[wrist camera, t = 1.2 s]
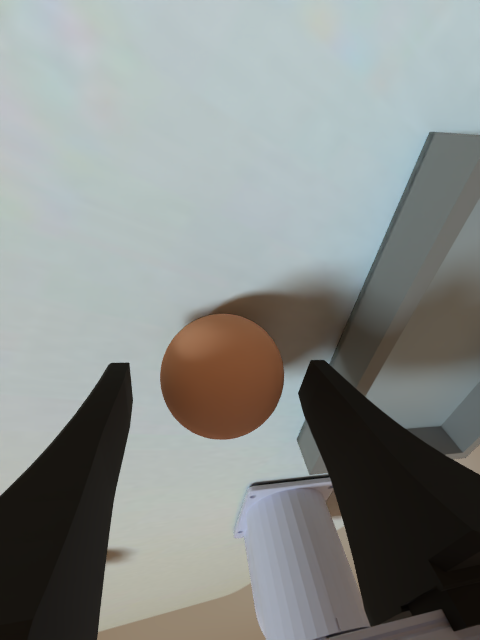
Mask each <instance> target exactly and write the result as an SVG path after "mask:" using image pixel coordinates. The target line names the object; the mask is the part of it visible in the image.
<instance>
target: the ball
mask: <svg viewBox="0 0 480 640" xmlns="http://www.w3.org/2000/svg"><path fill="white" fill-rule="evenodd" d="M160 382H161V390H162V394H163V397H164V400H165V402H166V405H167V407H168V409H169V410H170V412H171V413H172V415H173V416H174V417H175V419H176V420H177V421H178V422H179V423H180V424H181V425H183V426H184V427H185V428H187V429H188V430H190V431H191V432H193V433H195V434H197V435H200V436H203V437H206V438H210V439H222V440H223V439H233V438H237V437H240V436H243V435H246V434H248V433H250V432H252V431H254V430H255V429H257V428H258V427H259V426H261V425H262V424H263V423H264V422H265V421H266V420H267V419H268V418H269V417H270V415H271V414H272V413H273V411H274V409H275V408H276V406H277V404H278V402H279V399H280V397H281V394H282V389H283V385H284V369H283V362H282V359H281V355H280V352H279V350H278V348H277V346H276V344H275V343H274V341H273V340H272V338H271V337H270V336H269V335H268V333H267V332H266V331H265V330H264V329H263V328H261V327H260V326H259V325H257V324H256V323H254V322H253V321H251V320H248V319H246V318H244V317H241V316H238V315H233V314H214V315H209V316H205V317H202V318H199V319H197V320H195V321H193V322H191V323H190V324H188V325H187V326H185V327H184V328H183V329H182V330H181V331H180V332H179V333H178V334H177V335H176V336H175V337H174V338H173V340H172V341H171V343H170V344H169V346H168V348H167V350H166V352H165V355H164V357H163V361H162V365H161V373H160Z"/></svg>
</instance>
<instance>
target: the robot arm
mask: <svg viewBox="0 0 480 640" xmlns="http://www.w3.org/2000/svg"><path fill="white" fill-rule="evenodd" d="M298 394H299V398H300V402H301V406H302V409H303V413H304V416H305V419H306V421H307V424H308V426H309V428H310V431H311V433H312V436H313V438H314V440H315V443H316V445H317V447H318V450H319V452H320V454H321V457H322V459H323V461H324V464H325V466H326V469H327V471H328V474H329V478H320V479H311V480H302V481H293V482H284V483H276V484H267V485H258V486H252V487H249V488H248V490H247V492H246V495H245V498H244V502H243V505H242V508H241V511H240V514H239V517H238V520H237V523H236V526H235V529H234V538H243V537H244V540H245V546H246V553H247V559H248V566H249V572H250V579H251V585H252V592H253V597H254V605H255V611H256V616H257V619H258V623H259V626H260V628H261V630H262V632H263V634H264V636H265V637H266V640H480V475H479V474H477V473H475V472H473V471H472V470H470V469H468V468H466V467H465V466H463V465H461V464H459V463H458V462H456V461H454V460H453V459H451V458H449V457H448V456H446V455H444V454H443V453H441V452H440V451H438V450H436V449H435V448H433V447H432V446H430V445H428V444H427V443H425V442H424V441H422V440H421V439H419V438H418V437H417V436H415V435H414V434H412V433H411V432H409V431H408V430H407V429H405V428H404V427H402V426H401V425H400V424H398V423H397V422H396V421H394V420H393V419H392V418H390V417H389V416H388V415H387V414H386V413H384V412H383V411H382V410H381V409H379V408H378V407H377V406H376V405H374V404H373V403H372V402H371V401H370V400H368V399H367V398H366V397H365V396H364V395H363V394H362V393H360V392H359V391H358V390H357V389H356V388H355V387H354V386H353V385H351V384H350V383H349V382H348V381H347V380H346V379H345V378H344V377H343V376H342V375H340V374H339V373H338V372H337V371H336V370H335V369H334V368H333V367H332V366H330V365H329V364H328V363H327V362H326V361H325V360H311V361H310V364H309V366H308V369H307V371H306V374H305V377H304V379H303V382H302V385H301V387H300V390H299V392H298ZM132 403H133V397H132V386H131V376H130V366H129V363H111V364H109V365H108V367H107V368H106V370H105V372H104V373H103V375H102V377H101V378H100V380H99V381H98V383H97V384H96V386H95V387H94V389H93V390H92V392H91V393H90V395H89V396H88V397H87V399H86V400H85V401H84V403H83V404H82V406H81V407H80V408H79V410H78V411H77V412H76V414H75V415H74V416H73V418H72V419H71V420H70V421H69V422H68V424H67V425H66V426H65V427H64V429H63V430H62V431H61V432H60V433H59V435H58V436H57V437H56V438H55V439H54V441H53V442H52V443H51V444H50V445H49V446H48V447H47V449H46V450H45V451H44V452H43V453H42V454H41V455H40V456H39V457H38V458H37V459H36V460H35V462H34V463H33V464H32V465H31V466H30V467H29V468H28V469H27V470H26V471H25V472H24V473H23V474H22V475H21V476H20V477H19V478H18V479H17V480H16V481H15V482H14V483H13V484H12V485H11V486H10V487H9V488H8V489H7V490H6V491H5V492H4V493H3V494H2V495H1V496H0V640H97V634H98V625H99V616H100V606H101V597H102V589H103V580H104V571H105V563H106V555H107V547H108V539H109V531H110V524H111V517H112V509H113V502H114V497H115V491H116V486H117V482H118V477H119V473H120V469H121V464H122V460H123V455H124V451H125V446H126V442H127V437H128V433H129V428H130V421H131V413H132ZM333 490H334V492H335V495H336V498H337V502H338V505H339V508H340V512H341V515H342V519H343V522H344V526H345V529H346V533H347V537H348V541H349V545H350V548H351V553H352V556H353V560H354V564H355V569H356V574H357V578H358V582H359V587H360V591H361V594H360V592H359V589H358V586H357V584H356V581H355V578H354V576H353V573H352V570H351V568H350V565H349V563H348V560H347V558H346V555H345V552H344V550H343V547H342V544H341V541H340V539H339V536H338V533H337V531H336V528H335V526H334V523H333V520H332V518H331V515H330V512H329V510H328V507H327V504H326V501H327V499H328V498H329V496H330V495H331V493H332V492H333ZM361 596H362V597H361Z"/></svg>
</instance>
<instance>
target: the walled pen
mask: <svg viewBox="0 0 480 640" xmlns="http://www.w3.org/2000/svg"><path fill="white" fill-rule="evenodd" d="M329 365H330V366H332V367H333V368H334V369H335V370H336V371H337V372H338V373H339V374H340V375H342V376H343V377H344V378H345V379H346V380H347V381H348V382H349V383H350V384H351V385H353V386H354V387H355V388H356V389H357V390H358V391H359V392H360V393H362V394H363V395H364V396H365V397H366V398H367V399H368V400H370V401H371V402H372V403H373V404H374V405H376V406H377V407H378V408H379V409H381V410H382V411H383V412H384V413H386V414H387V415H388V416H389V417H390V418H392V419H393V420H394V421H396V422H397V423H398V424H400V425H401V426H402V427H404V428H405V429H407V430H408V431H409V432H411V433H412V434H414V435H415V436H417V437H418V438H419V439H421V440H422V441H424V442H425V443H427V444H428V445H430V446H432V447H433V448H435V449H436V450H438V451H440V452H441V453H443V454H444V455H446V456H448V457H449V458H451V459H460V458H466V457H467V456H468V455H469V454H470V453H471V452H472V451H473V450H474V449H475V448H476V447H478V446H479V444H480V135H467V134H452V133H437V132H430V133H429V135H428V137H427V139H426V142H425V144H424V146H423V149H422V151H421V153H420V156H419V158H418V160H417V163H416V165H415V167H414V170H413V172H412V174H411V177H410V179H409V181H408V183H407V186H406V188H405V190H404V193H403V195H402V197H401V200H400V202H399V204H398V207H397V209H396V211H395V214H394V216H393V218H392V220H391V223H390V225H389V227H388V230H387V232H386V234H385V237H384V239H383V241H382V244H381V246H380V248H379V251H378V253H377V255H376V257H375V260H374V262H373V264H372V267H371V269H370V271H369V274H368V276H367V278H366V281H365V283H364V285H363V288H362V290H361V292H360V295H359V297H358V299H357V301H356V304H355V306H354V308H353V311H352V313H351V315H350V318H349V320H348V322H347V325H346V327H345V329H344V332H343V334H342V336H341V338H340V341H339V343H338V345H337V348H336V350H335V352H334V355H333V357H332V359H331V362H330V364H329ZM297 442H298V444H299V447H300V450H301V453H302V455H303V458H304V461H305V464H306V466H307V469H308V472H309V475H313V474H322V473H328V471H327V469H326V466H325V464H324V461H323V459H322V457H321V454H320V452H319V450H318V447H317V445H316V443H315V440H314V438H313V436H312V433H311V431H310V428H309V426H308V424H307V421H306V419H305V422H304V424H303V426H302V429H301V431H300V433H299V436H298V438H297Z"/></svg>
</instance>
